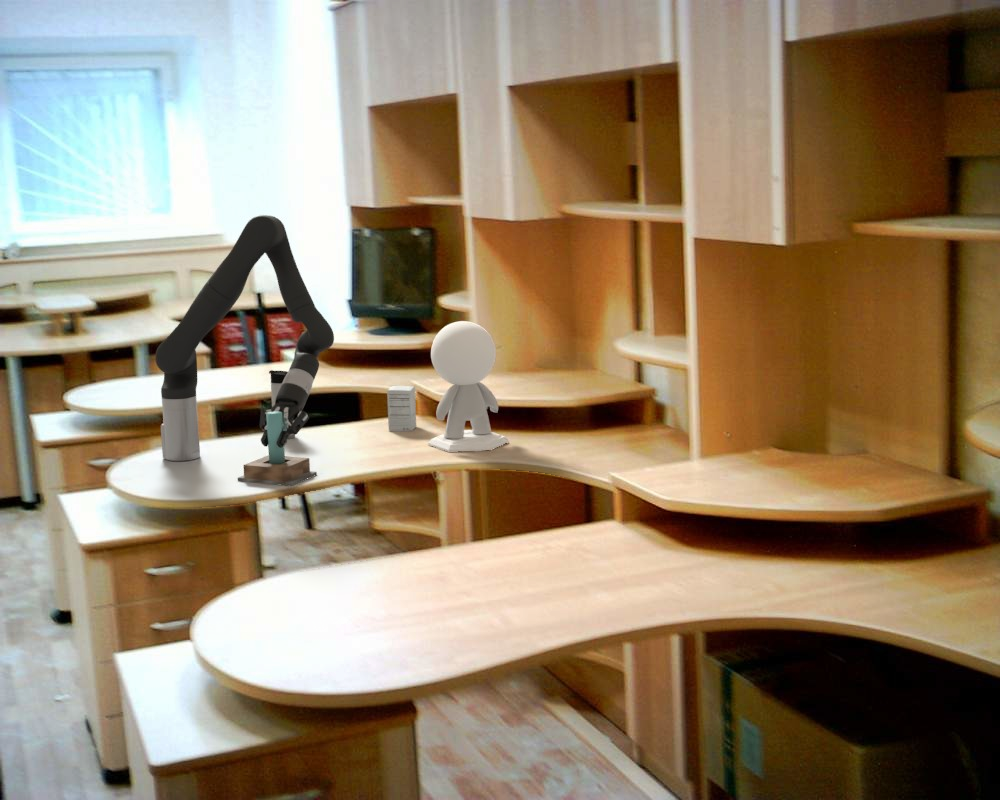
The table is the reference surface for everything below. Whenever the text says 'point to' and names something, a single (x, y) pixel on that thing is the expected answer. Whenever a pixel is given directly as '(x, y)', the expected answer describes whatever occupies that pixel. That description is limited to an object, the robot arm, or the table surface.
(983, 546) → the table surface
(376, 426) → the table surface
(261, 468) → the socket
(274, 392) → the travel mug
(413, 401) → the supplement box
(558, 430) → the table surface
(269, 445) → the peg
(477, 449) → the white toy figurine
